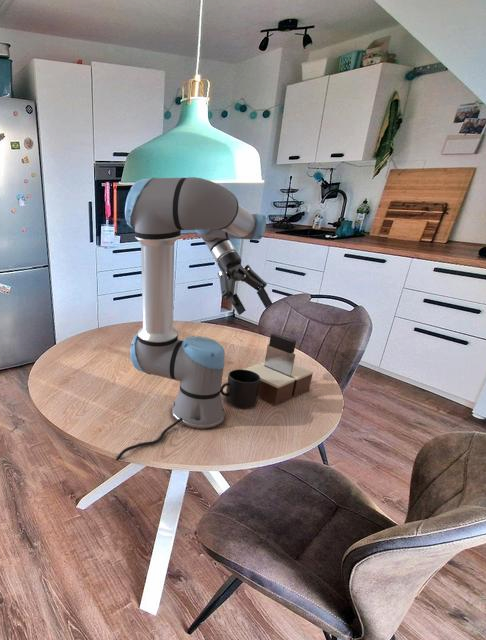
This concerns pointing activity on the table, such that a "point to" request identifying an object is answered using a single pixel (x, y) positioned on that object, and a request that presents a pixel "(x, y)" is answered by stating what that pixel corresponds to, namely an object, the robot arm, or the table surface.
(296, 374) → the split beige slab
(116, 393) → the table surface
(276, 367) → the dough scraper
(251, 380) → the mug
